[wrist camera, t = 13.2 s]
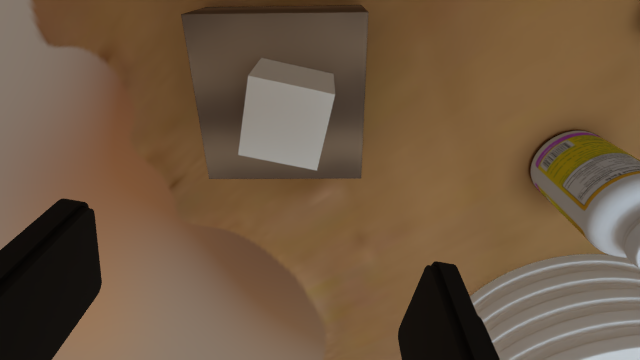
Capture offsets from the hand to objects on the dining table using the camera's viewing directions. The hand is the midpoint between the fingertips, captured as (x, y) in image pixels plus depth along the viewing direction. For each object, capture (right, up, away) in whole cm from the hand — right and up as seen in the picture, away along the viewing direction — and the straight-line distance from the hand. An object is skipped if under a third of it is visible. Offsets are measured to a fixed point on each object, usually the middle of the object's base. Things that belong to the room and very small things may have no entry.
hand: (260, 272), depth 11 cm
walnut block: (-1, +11, +22) cm, 24 cm away
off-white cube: (0, +8, +16) cm, 18 cm away
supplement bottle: (+24, +4, +25) cm, 35 cm away
